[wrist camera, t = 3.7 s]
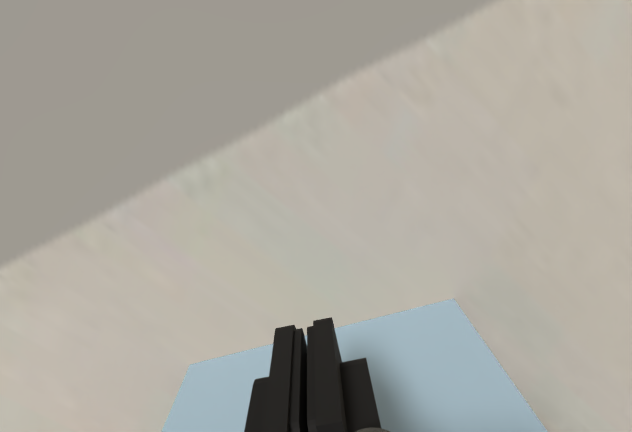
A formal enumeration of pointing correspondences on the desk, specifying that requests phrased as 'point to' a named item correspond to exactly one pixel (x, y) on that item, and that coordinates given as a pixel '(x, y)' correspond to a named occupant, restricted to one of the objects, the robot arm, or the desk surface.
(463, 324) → the carton
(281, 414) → the robot arm
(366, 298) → the desk surface
